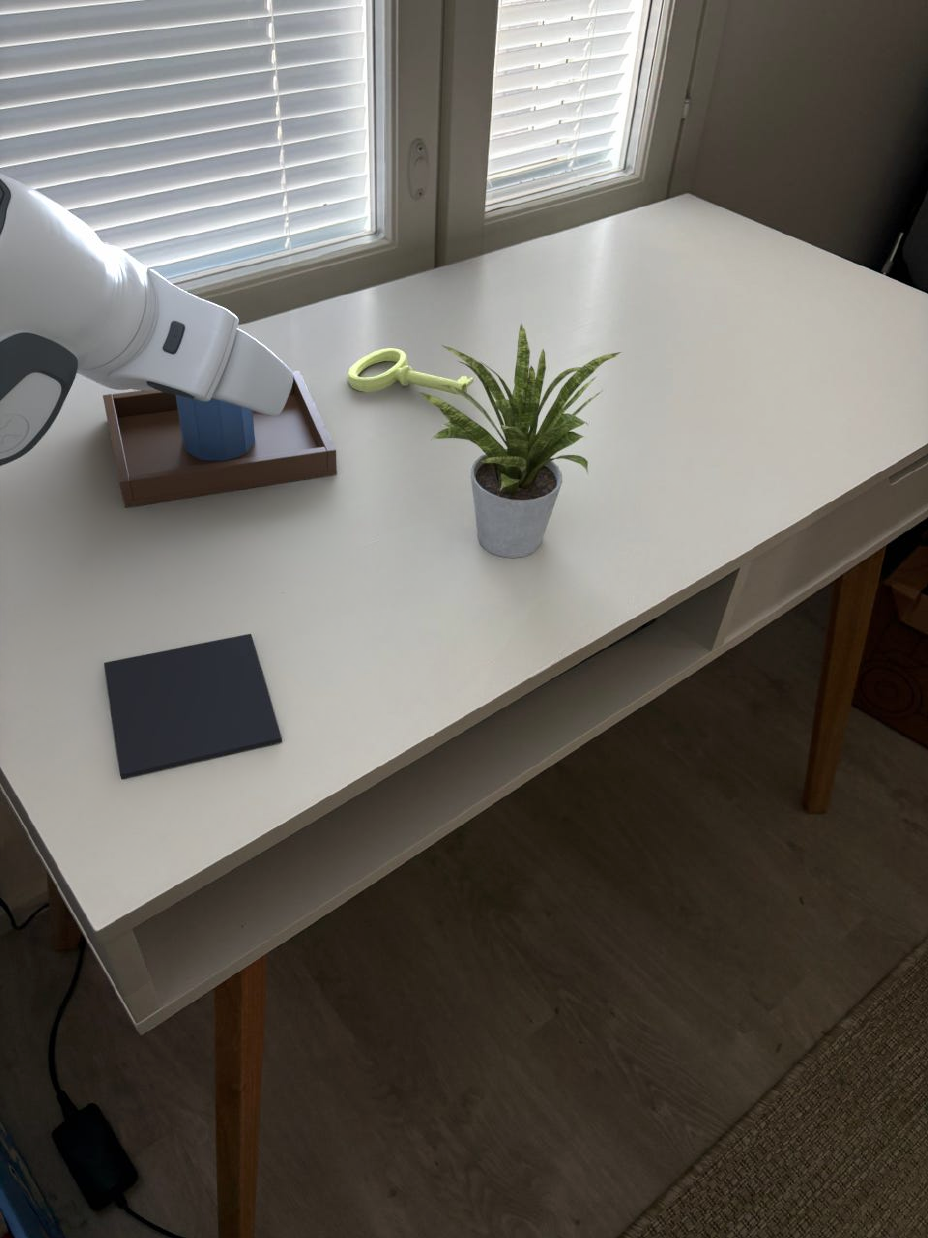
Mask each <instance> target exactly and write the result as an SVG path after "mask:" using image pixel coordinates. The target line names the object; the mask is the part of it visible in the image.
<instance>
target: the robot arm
mask: <svg viewBox="0 0 928 1238" xmlns="http://www.w3.org/2000/svg"><path fill="white" fill-rule="evenodd" d="M239 321H240V319H239V318H238V316H236V315H235V313H233V312H232V311H230V310H229V309H227V308H226V307H223V306H221V305H219V304H217V303H215V302H213V301H211V300H208V299H205V298H203V297H201V296H198V295H196V294H194V293H192V292H190V291H188V290H186V289H184V288H180V287H178V286H176V285H174V284H173V283H172V282H171V281H169V280H168V279H167V278H165V277H164V276H162V275H161V274H160V273H158V272H157V271H155V270H154V269H152V268H148V267H146V266H145V265H144V264H142V263H141V262H140V261H138V260H137V259H136V258H134V257H133V256H131V255H130V254H129V253H128V252H126V251H124V250H123V249H121V248H120V247H118V246H116V245H114V244H112V243H110V242H106V241H102V240H101V239H100V238H99V236H98V235H97V234H96V233H95V231H94V230H93V229H92V228H91V227H90V226H89V225H88V224H87V223H86V222H85V221H83V220H82V219H81V218H79V217H78V216H76V215H75V214H74V213H72V212H71V211H69V210H68V209H67V208H65V207H63V206H62V205H61V204H59V203H57V202H56V201H54V200H53V199H51V198H49V197H48V196H46V195H45V194H43V193H42V192H40V191H38V190H36V189H35V188H33V187H31V186H29V185H27V184H24V183H23V182H21V181H19V180H17V179H14V178H13V177H10V176H7V175H5V174H2V173H0V467H2V466H5V465H7V464H10V463H12V462H14V461H16V460H18V459H20V458H22V457H24V456H25V455H26V454H28V453H29V452H30V451H31V450H32V449H34V448H35V446H37V444H39V442H40V441H41V440H42V439H43V437H44V436H45V435H46V434H47V433H48V432H49V430H50V429H51V427H52V426H53V424H54V422H55V420H56V419H57V418H58V416H59V413H60V412H61V409H62V407H63V406H64V403H65V401H66V400H67V397H68V394H69V393H70V391H71V389H72V386H73V385H74V381H75V379H76V377H77V374H79V376H82V377H85V378H86V379H88V380H90V381H92V382H94V383H96V384H98V385H100V386H102V387H105V388H108V389H111V390H117V391H126V390H127V391H128V390H133V391H142V390H144V391H161V392H164V393H170V394H175V395H179V396H183V397H187V398H190V399H197V400H201V401H204V402H207V401H209V400H210V399H211V398H214V399H217V400H221V401H224V402H228V403H231V404H234V405H237V406H240V407H243V408H246V409H249V410H252V411H255V412H258V413H261V414H264V415H267V416H277V415H279V414H280V413H281V412H282V410H283V408H284V406H285V404H286V401H287V399H288V396H289V393H290V390H291V387H292V383H293V373H292V370H291V368H290V367H289V366H288V365H287V364H286V363H285V362H284V361H282V360H281V359H280V358H279V357H278V355H276V354H275V353H274V352H272V351H271V350H270V349H269V348H267V346H265V345H264V344H263V343H261V342H260V341H259V340H257V339H256V338H255V337H253V336H252V335H250V334H249V333H247V332H245V331H244V330H242V329H240V328H239V327H238V326H239Z"/></svg>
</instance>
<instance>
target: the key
mask: <svg viewBox="0 0 928 1238" xmlns="http://www.w3.org/2000/svg"><path fill="white" fill-rule="evenodd" d="M381 362H395V363H396V364H395V365H393V366H392V367H391V368H389V369H388V370H386V371H384V372H383V373H380V374H377V375H375V376H370V377H362V376H359V375H360V373H362V372H363V371H364V370H365V369H366V368H369V366H372V365H375V364H377V363H381ZM347 381H348V383H349V385H350V386H351V388H353V389H354V390H356V391H360V392H375V391H379V390H382V389H385V388H387V387H389V386H391V385H392V384H394V383H395V382H397V381H399V383H400V385H401V386H403V387H408V386H409V385H410V384H412V385H416V386H421V387H424V388H429V389H433V390H438V391H442V392H446V393H450V394H454V395H459V396H461V395H460V394H459V393H457V392H455V391H453V390H451V389H448V388H446V387H443V386H441V385H450V386H453V387H456V388H458V389H460V390H462V391H464V392H466V393H467V390H468V387H470V385H472V384H473V383H474V377H471V376H470V377H468V376H466V375H462V376H461V377H460V378H458V380H454V379H450V378H445V377H441V376H437V375H433V374H428V373H425V372H424V373H423V372H419V371H415V370H413V368H412V366H410V365H408V357H407V354H406V352H404V350H402V349H398V348H394V347H393V348H392V347H391V348H382V349H379V350H376V351H373V352H371V353H369V354H366V355H365V356H362V357H361V358H360V359H359V360H357V361H356V362H354V363H353V365H351V366H350V368H349V369H348V373H347ZM438 384H439V385H438Z"/></svg>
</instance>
